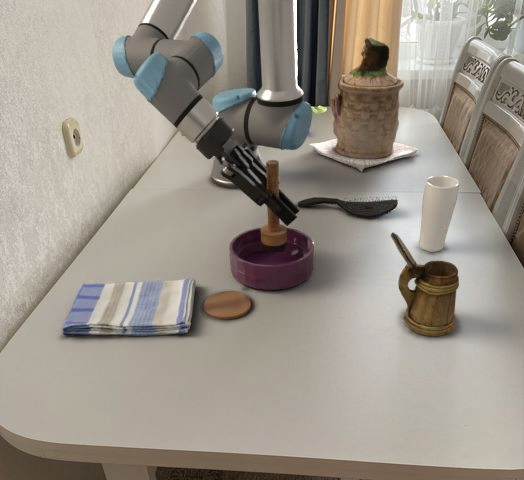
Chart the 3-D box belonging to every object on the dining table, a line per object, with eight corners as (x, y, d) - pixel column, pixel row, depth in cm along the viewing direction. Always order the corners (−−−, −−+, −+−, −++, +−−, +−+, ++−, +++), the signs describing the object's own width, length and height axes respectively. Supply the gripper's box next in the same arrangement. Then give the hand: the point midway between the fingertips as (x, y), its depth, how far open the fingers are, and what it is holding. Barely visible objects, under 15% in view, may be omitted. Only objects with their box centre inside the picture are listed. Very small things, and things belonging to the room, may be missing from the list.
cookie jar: (420, 154, 167) (438, 35, 147) (360, 173, 157) (370, 47, 137) (364, 135, 183) (374, 25, 164) (306, 150, 173) (309, 35, 153)
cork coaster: (196, 302, 107) (196, 299, 107) (237, 288, 110) (237, 286, 110) (216, 325, 101) (216, 322, 100) (259, 310, 104) (259, 307, 104)
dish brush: (256, 244, 117) (253, 160, 105) (278, 238, 119) (277, 155, 107) (269, 255, 113) (267, 169, 102) (291, 248, 115) (291, 163, 104)
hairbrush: (301, 188, 142) (399, 191, 136) (301, 202, 145) (398, 205, 138) (293, 201, 136) (396, 205, 130) (294, 215, 138) (395, 220, 132)
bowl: (217, 264, 118) (215, 239, 115) (285, 244, 125) (285, 219, 121) (256, 301, 106) (254, 275, 103) (329, 277, 113) (330, 251, 109)
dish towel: (191, 336, 98) (189, 323, 96) (60, 340, 99) (56, 327, 97) (199, 285, 112) (198, 273, 110) (84, 288, 112) (81, 276, 110)
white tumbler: (447, 242, 123) (461, 177, 114) (445, 256, 118) (459, 189, 109) (417, 238, 125) (427, 173, 116) (413, 252, 120) (424, 185, 111)
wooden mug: (375, 308, 103) (386, 220, 92) (448, 308, 103) (467, 219, 92) (382, 337, 96) (395, 245, 85) (460, 336, 96) (483, 244, 85)
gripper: (207, 131, 111) (287, 213, 119) (182, 158, 100) (273, 247, 107) (230, 104, 107) (312, 191, 114) (207, 129, 95) (300, 223, 103)
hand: (293, 217), depth 111 cm, fingers closed on dish brush, 2 cm apart
